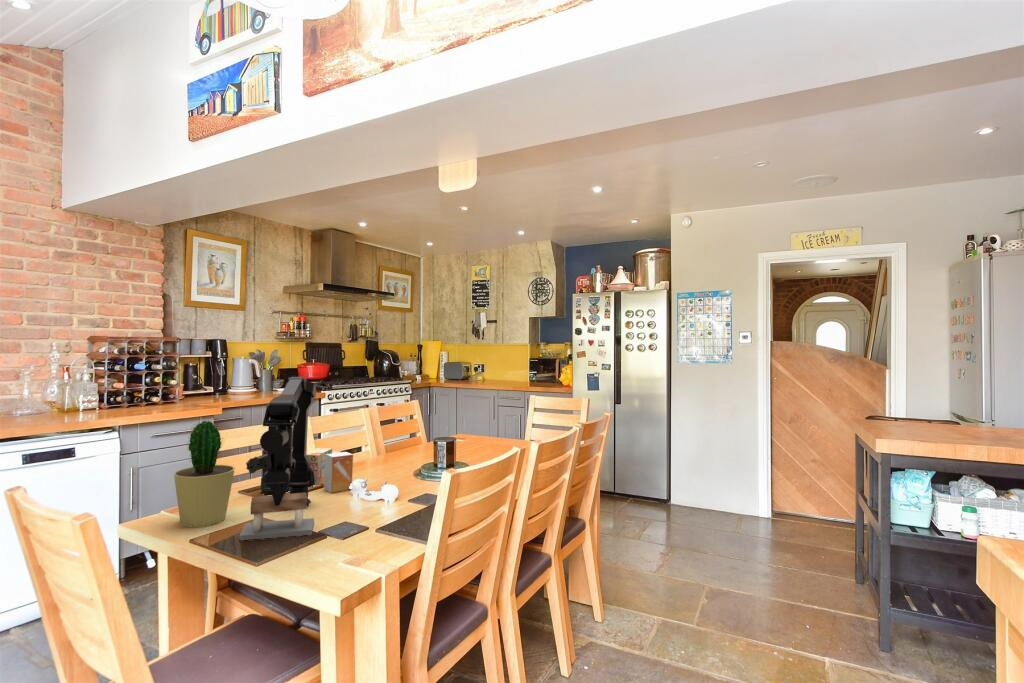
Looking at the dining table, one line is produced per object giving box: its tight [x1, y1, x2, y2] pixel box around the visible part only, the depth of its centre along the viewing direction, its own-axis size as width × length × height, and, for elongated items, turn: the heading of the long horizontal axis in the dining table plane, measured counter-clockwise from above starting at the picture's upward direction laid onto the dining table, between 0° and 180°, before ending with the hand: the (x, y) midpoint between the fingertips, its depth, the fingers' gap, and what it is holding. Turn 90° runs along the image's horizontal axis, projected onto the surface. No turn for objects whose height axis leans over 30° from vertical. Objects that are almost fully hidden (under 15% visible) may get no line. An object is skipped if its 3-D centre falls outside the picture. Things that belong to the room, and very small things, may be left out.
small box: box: [323, 451, 354, 494], centre depth 183 cm, size 8×6×13 cm
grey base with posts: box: [238, 509, 315, 541], centre depth 141 cm, size 10×18×6 cm, turn 108°
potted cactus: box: [173, 420, 236, 528], centre depth 148 cm, size 15×15×30 cm
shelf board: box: [250, 492, 308, 516], centre depth 141 cm, size 14×6×3 cm, turn 115°
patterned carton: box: [306, 447, 342, 485], centre depth 196 cm, size 21×6×12 cm, turn 175°
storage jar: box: [260, 449, 290, 496], centre depth 179 cm, size 10×10×15 cm
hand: (279, 500), depth 141 cm, fingers open, 9 cm apart
